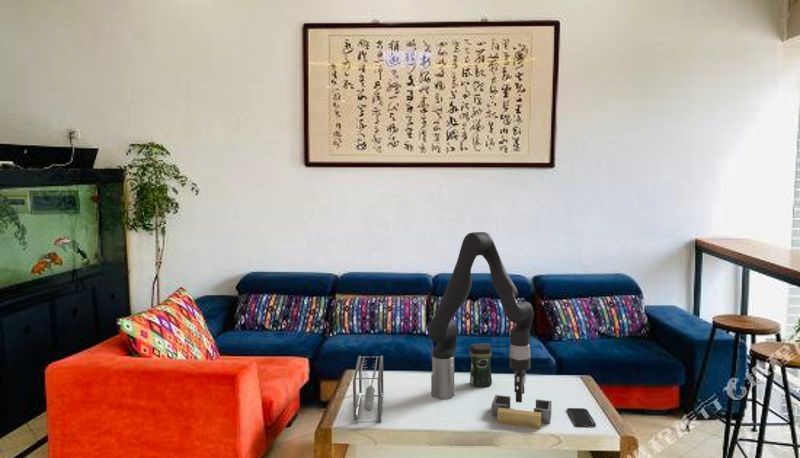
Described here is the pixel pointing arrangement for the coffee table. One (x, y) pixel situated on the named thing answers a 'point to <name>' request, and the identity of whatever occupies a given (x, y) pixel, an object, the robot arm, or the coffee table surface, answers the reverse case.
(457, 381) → the coffee table surface
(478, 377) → the coffee jar
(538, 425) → the link bar
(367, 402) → the newton's cradle
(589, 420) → the phone
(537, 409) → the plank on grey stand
